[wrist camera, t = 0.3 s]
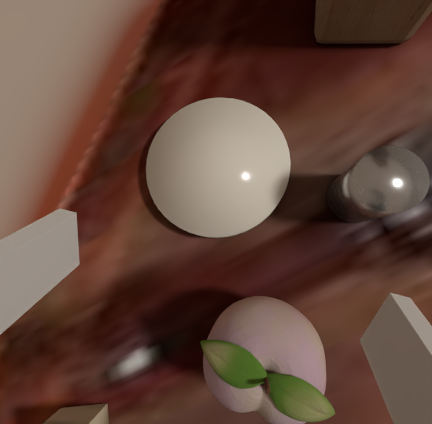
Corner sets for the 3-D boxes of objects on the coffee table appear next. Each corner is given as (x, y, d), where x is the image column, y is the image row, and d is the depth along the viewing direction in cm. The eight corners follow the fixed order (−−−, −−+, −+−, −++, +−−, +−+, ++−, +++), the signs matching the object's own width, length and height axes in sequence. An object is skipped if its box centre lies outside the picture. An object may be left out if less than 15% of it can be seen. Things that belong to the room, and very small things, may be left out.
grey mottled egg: (378, 225, 25) (429, 215, 18) (325, 220, 25) (354, 208, 18) (379, 176, 25) (429, 148, 18) (327, 172, 26) (356, 144, 19)
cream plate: (282, 245, 25) (284, 245, 24) (141, 230, 27) (135, 228, 26) (292, 108, 27) (295, 100, 26) (161, 103, 29) (157, 95, 28)
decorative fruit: (317, 302, 24) (366, 337, 14) (300, 392, 23) (340, 496, 13) (222, 277, 26) (208, 293, 16) (203, 360, 25) (174, 433, 15)
